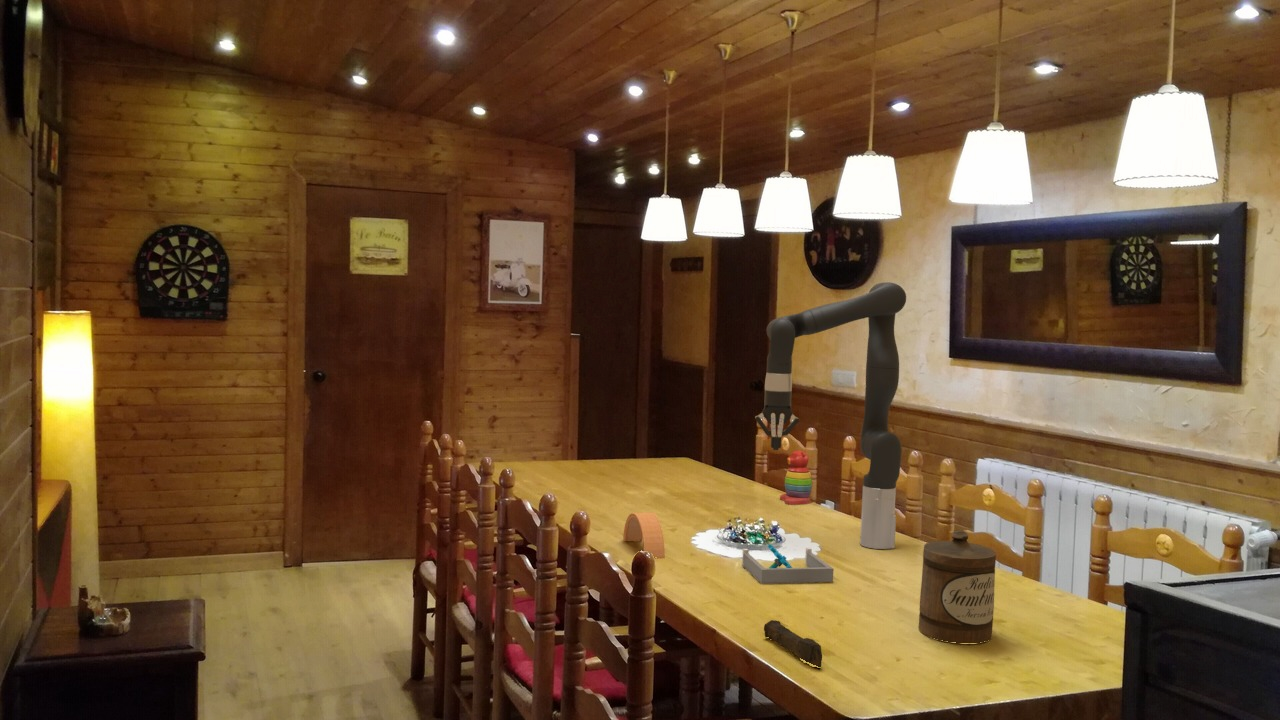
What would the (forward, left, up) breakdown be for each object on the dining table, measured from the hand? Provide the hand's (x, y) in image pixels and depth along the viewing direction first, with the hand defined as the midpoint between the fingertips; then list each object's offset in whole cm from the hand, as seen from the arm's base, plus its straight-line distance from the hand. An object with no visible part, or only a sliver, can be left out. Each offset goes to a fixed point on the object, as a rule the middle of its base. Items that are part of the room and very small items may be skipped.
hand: (775, 449), depth 283 cm
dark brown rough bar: (0, +89, -28) cm, 93 cm away
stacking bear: (-12, -63, -27) cm, 70 cm away
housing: (-2, +31, -27) cm, 41 cm away
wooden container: (-35, +71, -27) cm, 84 cm away
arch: (+36, +14, -27) cm, 47 cm away
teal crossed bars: (-1, +31, -27) cm, 42 cm away
